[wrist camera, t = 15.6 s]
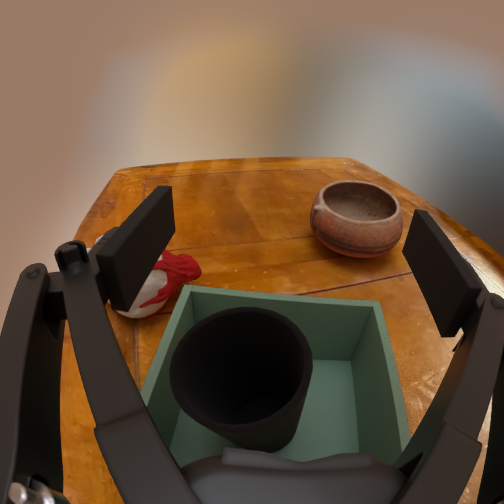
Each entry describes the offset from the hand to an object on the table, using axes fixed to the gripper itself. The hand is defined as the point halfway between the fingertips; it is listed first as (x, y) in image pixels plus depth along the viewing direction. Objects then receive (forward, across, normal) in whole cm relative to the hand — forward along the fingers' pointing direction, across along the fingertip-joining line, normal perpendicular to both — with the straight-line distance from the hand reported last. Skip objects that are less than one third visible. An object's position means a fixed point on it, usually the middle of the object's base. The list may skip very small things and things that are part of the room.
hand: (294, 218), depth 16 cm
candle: (+12, -17, -20) cm, 28 cm away
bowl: (+30, +12, -20) cm, 38 cm away
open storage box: (-3, 0, -19) cm, 20 cm away
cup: (-3, 0, -18) cm, 18 cm away
